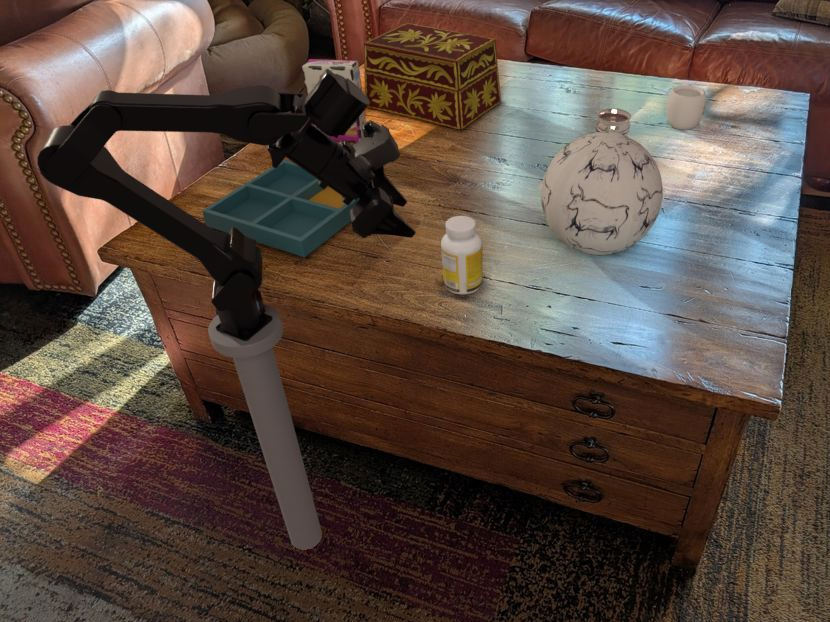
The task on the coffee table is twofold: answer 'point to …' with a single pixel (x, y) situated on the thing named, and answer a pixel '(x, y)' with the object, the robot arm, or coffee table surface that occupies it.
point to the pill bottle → (462, 256)
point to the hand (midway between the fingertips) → (409, 219)
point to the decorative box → (432, 75)
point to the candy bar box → (347, 70)
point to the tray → (282, 210)
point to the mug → (685, 106)
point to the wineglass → (613, 121)
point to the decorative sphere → (602, 193)
